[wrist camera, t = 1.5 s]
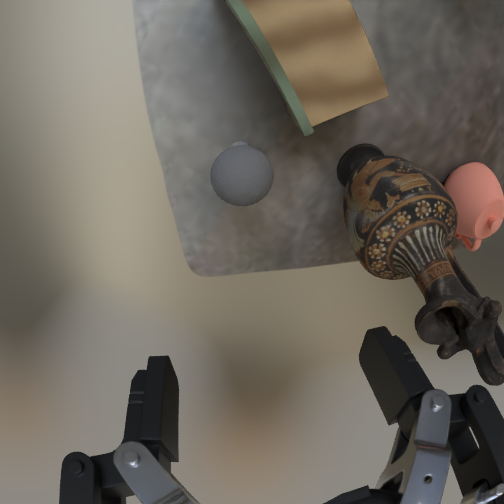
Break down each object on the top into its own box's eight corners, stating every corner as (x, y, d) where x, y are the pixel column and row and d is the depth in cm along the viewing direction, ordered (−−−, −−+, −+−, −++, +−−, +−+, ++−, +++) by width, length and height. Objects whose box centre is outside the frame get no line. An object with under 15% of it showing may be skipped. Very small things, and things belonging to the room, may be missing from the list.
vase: (348, 113, 30) (543, 328, 7) (416, 157, 33) (560, 335, 11) (304, 190, 37) (386, 435, 14) (373, 219, 40) (465, 411, 18)
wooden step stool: (211, -14, 19) (205, -31, 13) (297, -46, 16) (315, -66, 11) (290, 116, 30) (304, 137, 24) (365, 86, 27) (396, 100, 22)
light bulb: (232, 116, 30) (232, 146, 22) (275, 143, 32) (290, 182, 25) (205, 157, 33) (196, 200, 25) (246, 180, 35) (252, 228, 28)
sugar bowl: (490, 157, 33) (530, 190, 25) (469, 224, 42) (499, 261, 34) (441, 153, 33) (484, 189, 25) (422, 229, 42) (452, 272, 34)
